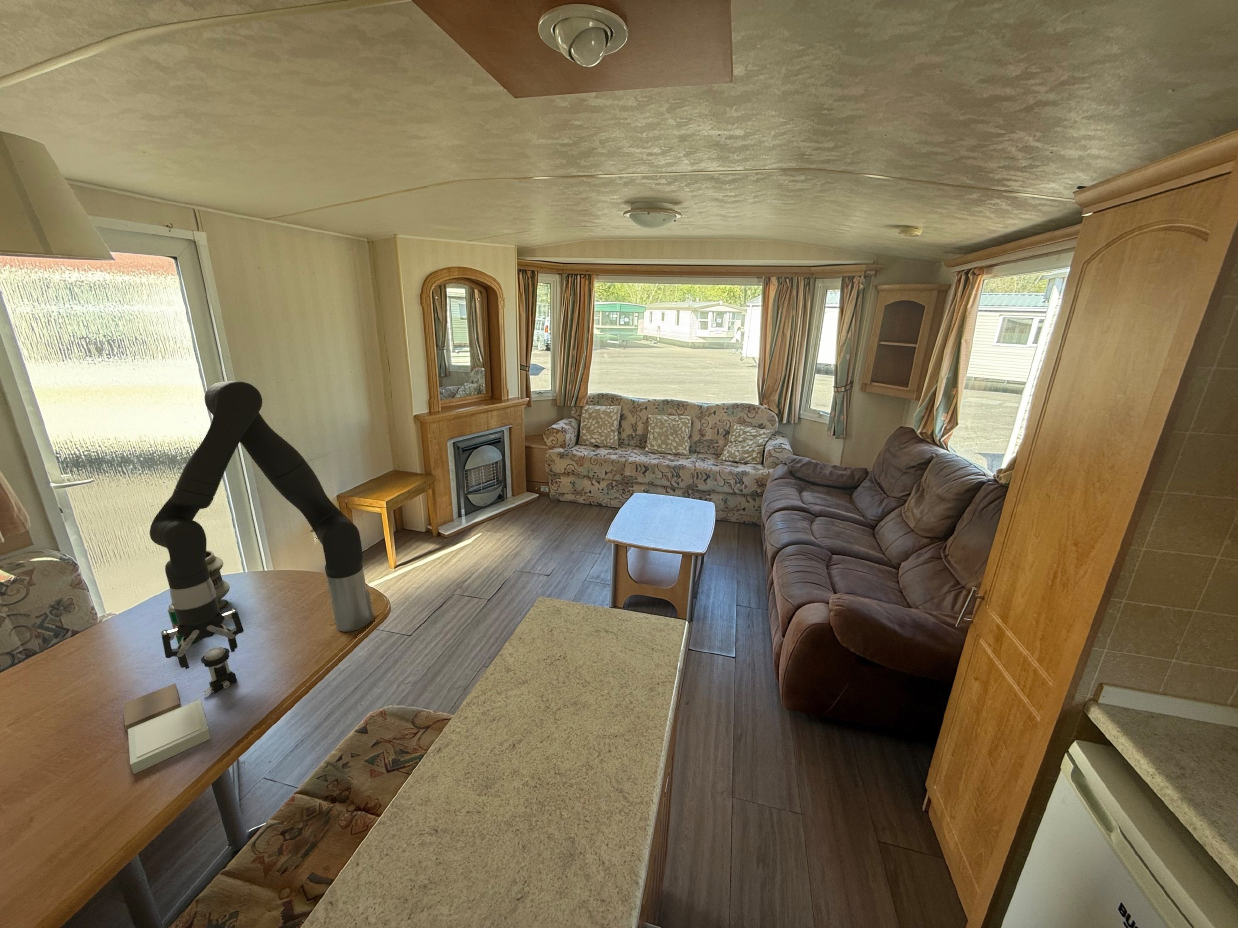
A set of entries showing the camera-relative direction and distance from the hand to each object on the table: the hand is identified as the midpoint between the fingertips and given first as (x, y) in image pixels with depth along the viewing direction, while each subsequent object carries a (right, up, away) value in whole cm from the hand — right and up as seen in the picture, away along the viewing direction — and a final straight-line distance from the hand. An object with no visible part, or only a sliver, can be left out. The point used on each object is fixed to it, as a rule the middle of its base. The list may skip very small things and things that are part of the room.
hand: (210, 658), depth 117 cm
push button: (0, -8, +3) cm, 9 cm away
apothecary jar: (-29, +2, +34) cm, 45 cm away
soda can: (-22, -3, +19) cm, 29 cm away
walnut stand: (-9, -10, -4) cm, 15 cm away
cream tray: (+1, -12, -12) cm, 17 cm away
